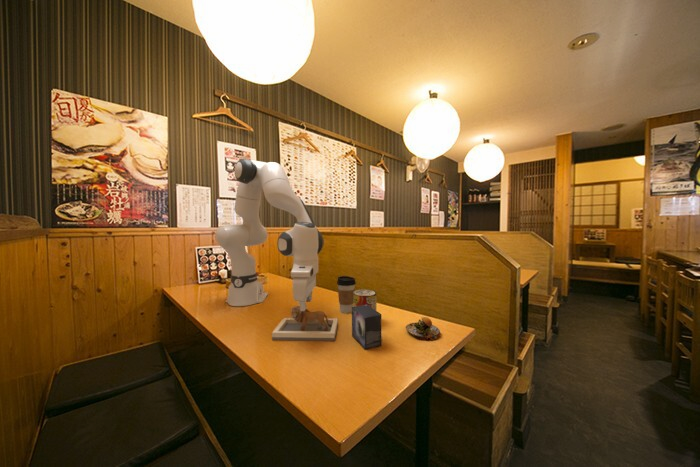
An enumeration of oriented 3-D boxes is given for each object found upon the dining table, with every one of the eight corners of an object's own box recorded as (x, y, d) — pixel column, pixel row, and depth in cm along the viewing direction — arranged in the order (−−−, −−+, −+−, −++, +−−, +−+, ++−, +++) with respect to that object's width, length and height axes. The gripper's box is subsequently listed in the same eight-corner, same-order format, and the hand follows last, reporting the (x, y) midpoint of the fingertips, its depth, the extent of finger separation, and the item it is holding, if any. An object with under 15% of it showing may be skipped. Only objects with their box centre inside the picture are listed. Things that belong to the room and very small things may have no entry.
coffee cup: (344, 306, 116) (344, 274, 115) (359, 310, 111) (359, 277, 110) (333, 311, 109) (333, 278, 108) (348, 315, 104) (348, 280, 103)
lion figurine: (290, 334, 84) (290, 308, 84) (291, 328, 89) (291, 303, 89) (333, 331, 87) (332, 306, 86) (331, 324, 92) (331, 301, 92)
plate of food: (409, 324, 95) (409, 305, 95) (441, 330, 90) (441, 310, 90) (402, 337, 84) (402, 316, 84) (438, 344, 79) (438, 322, 79)
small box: (350, 336, 85) (350, 306, 85) (367, 332, 88) (367, 303, 87) (364, 350, 75) (364, 316, 75) (382, 346, 78) (382, 313, 78)
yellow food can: (350, 325, 94) (350, 294, 93) (357, 317, 102) (357, 288, 102) (373, 328, 91) (373, 296, 90) (378, 320, 99) (378, 290, 99)
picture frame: (284, 324, 95) (284, 317, 95) (337, 324, 94) (337, 318, 94) (272, 340, 82) (272, 332, 82) (334, 341, 81) (334, 333, 81)
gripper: (304, 262, 98) (304, 296, 99) (289, 273, 78) (289, 316, 78) (319, 262, 98) (319, 297, 98) (308, 273, 77) (308, 316, 78)
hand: (306, 305), depth 88 cm, fingers open, 8 cm apart
